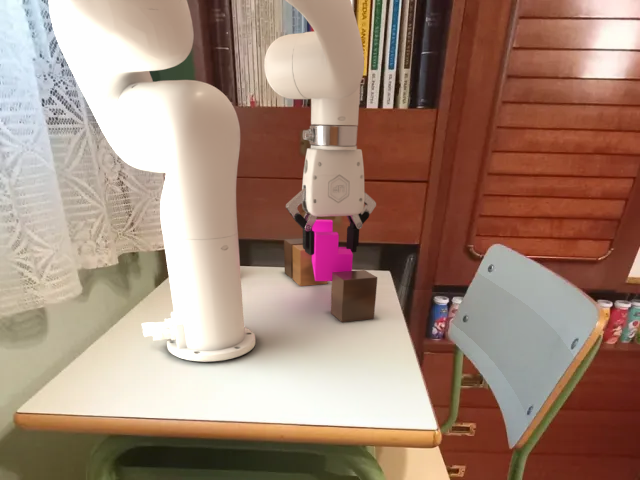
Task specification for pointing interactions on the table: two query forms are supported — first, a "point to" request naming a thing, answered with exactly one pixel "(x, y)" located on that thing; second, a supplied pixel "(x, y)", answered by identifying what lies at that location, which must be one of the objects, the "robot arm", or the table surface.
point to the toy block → (328, 252)
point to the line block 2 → (353, 295)
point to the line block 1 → (290, 254)
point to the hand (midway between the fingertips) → (330, 251)
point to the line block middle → (303, 268)
